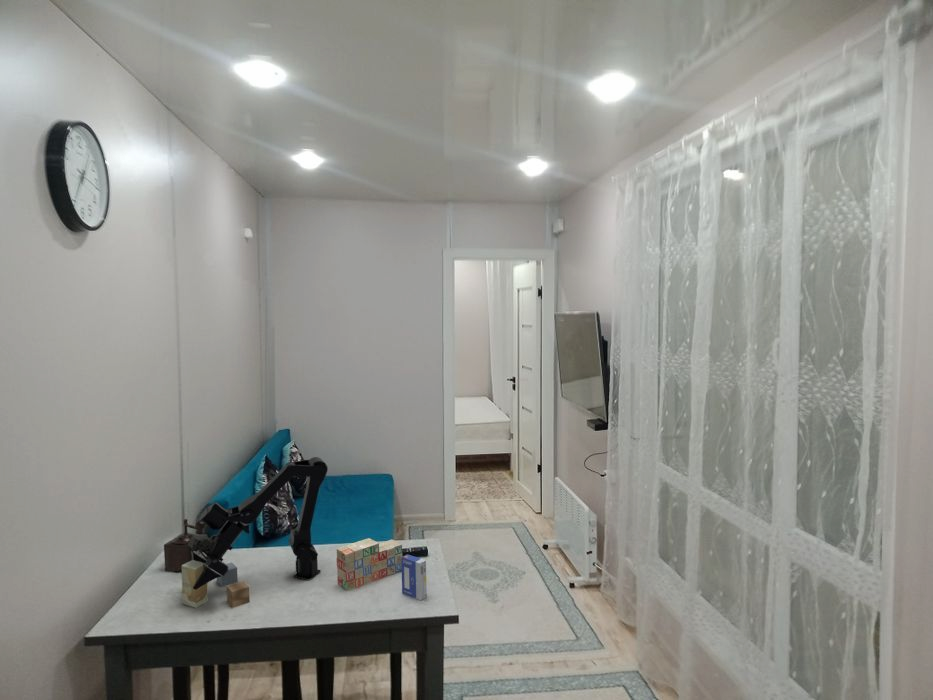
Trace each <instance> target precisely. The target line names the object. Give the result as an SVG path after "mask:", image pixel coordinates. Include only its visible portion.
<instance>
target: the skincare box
mask: <svg viewBox="0 0 933 700" xmlns="http://www.w3.org/2000/svg"><path fill="white" fill-rule="evenodd" d="M203 564H205V563H202V562H199V561H195V560H192V561H190V562H188V563H185V564H183V565H182V572H181V588H182V589H181V590H182V592H181V593H182V596H181V598H182V604H184V605H186V606H189V607H193V608H195V609H196V608H199V607H201V606H202V605H204V604H205V603H207V602H208V583H206V584H205V585H203V586H201V587H200V588H198V589H196V590H195V589H193V586H194V585H195V583H196V581H197V580H198V578H199V577H200V575H201V574H202V572H203ZM205 565H206V564H205ZM206 566H207V565H206Z"/></svg>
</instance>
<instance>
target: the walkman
mask: <svg viewBox="0 0 933 700" xmlns="http://www.w3.org/2000/svg"><path fill="white" fill-rule="evenodd" d="M401 561H402V571H401V593H402V594H404V595H405V596H409V597H411V598H413V599H415V600H416V599H417V600H419V601H422V600H423V599H426V598H427V597H428V596H427V595H428V593H427V592H428V591H427V590H428V589H427V560H426V559H423V558H420V557H417V556H413V555H410V554H408V553H407V554H405V555H402V557H401Z"/></svg>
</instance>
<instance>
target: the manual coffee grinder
mask: <svg viewBox="0 0 933 700" xmlns="http://www.w3.org/2000/svg"><path fill="white" fill-rule="evenodd" d="M194 523H195V524H194V525H192V524H189V523H188V519H187V518H185V519H183V525H182V526H184V527H183V529H184V532H183V533H180V534H179V535H177V536H175V537H174V538H172V539H171V540H169V541H167V542H166V543H164V544H163V550H164V551H163V553H164V554H163V555H164V568H165V569H164V572H171V573H172V572H174V573H182V565H183V564H185V563H188V562H190V561H191V560H192V554H191V551H193V550H192V549H191V547H190V546H188V545H189V543H190V540H191V538H192V535H196V536H202V537H207V538H209V537H208V534H205V529H206V528H207V527H208V526H207V525H206V524H204V523H203V522H201V521H200V520H199V519H198V520H197V521H196V522H194ZM188 528H189V529H194V530H196V531H195V533H192V532H189V531H188ZM205 559H206V558H205ZM206 560H207V559H206Z"/></svg>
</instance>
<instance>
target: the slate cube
mask: <svg viewBox="0 0 933 700" xmlns="http://www.w3.org/2000/svg"><path fill="white" fill-rule="evenodd" d="M225 564H226V565H227V566H228V572H227V573H226V574H225V575H224V576H222V575H221V574H220V575H221V577H217V578H216V582H217V584H219V586H220V587H221V588H223V587H227V586H228V585H231V584H235V583H238V582H239V581H238V580H239V579H238V566H236V565H235V564H234V563H233V562H229V563H225Z"/></svg>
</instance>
